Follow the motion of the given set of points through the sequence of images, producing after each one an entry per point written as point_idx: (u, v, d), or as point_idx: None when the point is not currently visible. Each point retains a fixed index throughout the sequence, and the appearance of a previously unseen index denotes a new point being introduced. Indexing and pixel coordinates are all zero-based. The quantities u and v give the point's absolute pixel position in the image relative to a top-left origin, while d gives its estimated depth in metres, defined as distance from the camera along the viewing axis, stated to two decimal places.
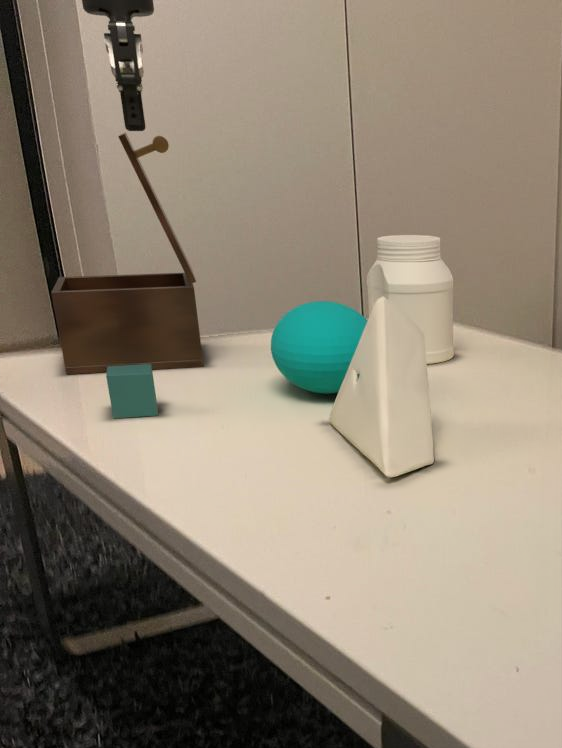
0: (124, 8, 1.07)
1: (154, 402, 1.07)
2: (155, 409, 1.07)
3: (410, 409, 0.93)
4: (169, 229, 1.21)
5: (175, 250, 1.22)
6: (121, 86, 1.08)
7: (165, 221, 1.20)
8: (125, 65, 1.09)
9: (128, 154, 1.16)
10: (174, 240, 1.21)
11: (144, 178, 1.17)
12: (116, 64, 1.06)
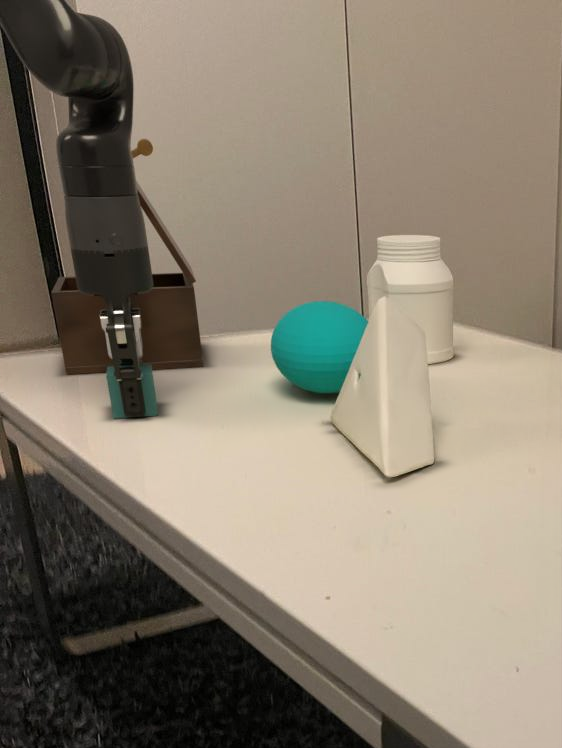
0: (121, 294, 1.00)
1: (154, 402, 1.07)
2: (155, 409, 1.07)
3: (411, 409, 0.93)
4: (163, 232, 1.21)
5: (171, 252, 1.22)
6: None
7: (158, 224, 1.20)
8: None
9: None
10: (169, 242, 1.21)
11: None
12: (115, 364, 1.01)
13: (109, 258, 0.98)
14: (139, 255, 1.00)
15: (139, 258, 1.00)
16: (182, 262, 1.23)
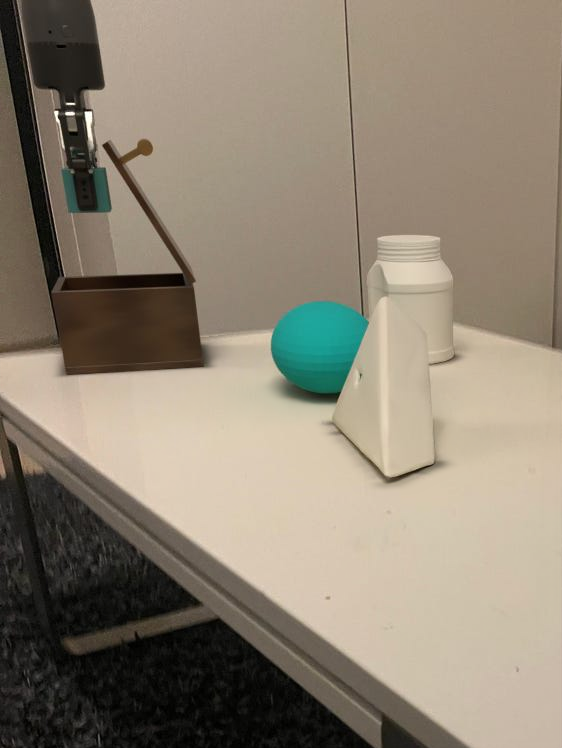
0: (73, 86, 1.08)
1: (106, 198, 1.15)
2: (107, 206, 1.16)
3: (411, 409, 0.93)
4: (163, 232, 1.21)
5: (171, 252, 1.22)
6: (73, 169, 1.12)
7: (158, 224, 1.20)
8: (76, 147, 1.12)
9: (114, 162, 1.16)
10: (169, 242, 1.21)
11: (132, 184, 1.17)
12: (67, 152, 1.09)
13: (61, 49, 1.06)
14: (90, 50, 1.08)
15: (89, 53, 1.08)
16: (182, 262, 1.23)
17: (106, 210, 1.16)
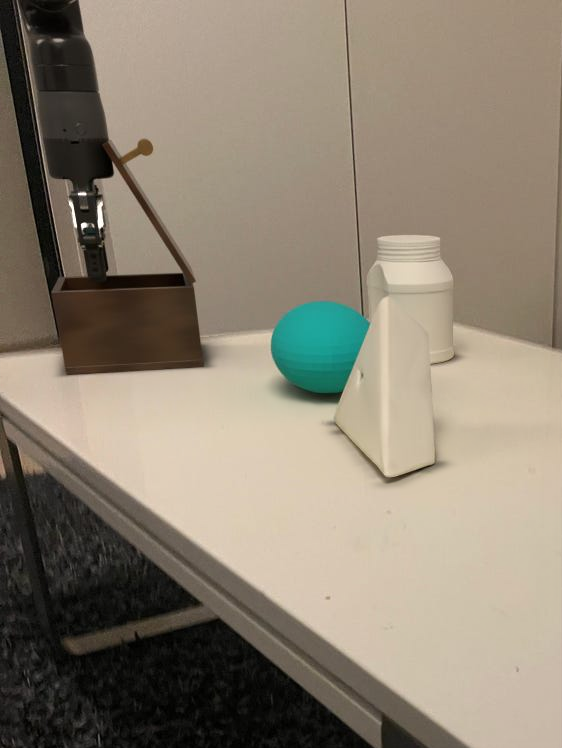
0: (86, 177, 1.18)
1: None
2: None
3: (412, 409, 0.93)
4: (163, 232, 1.21)
5: (171, 252, 1.22)
6: (84, 245, 1.20)
7: (158, 224, 1.20)
8: (87, 225, 1.20)
9: (114, 161, 1.16)
10: (169, 242, 1.21)
11: (132, 184, 1.17)
12: (78, 228, 1.18)
13: (75, 145, 1.17)
14: (100, 144, 1.18)
15: (100, 146, 1.18)
16: (182, 262, 1.23)
17: None
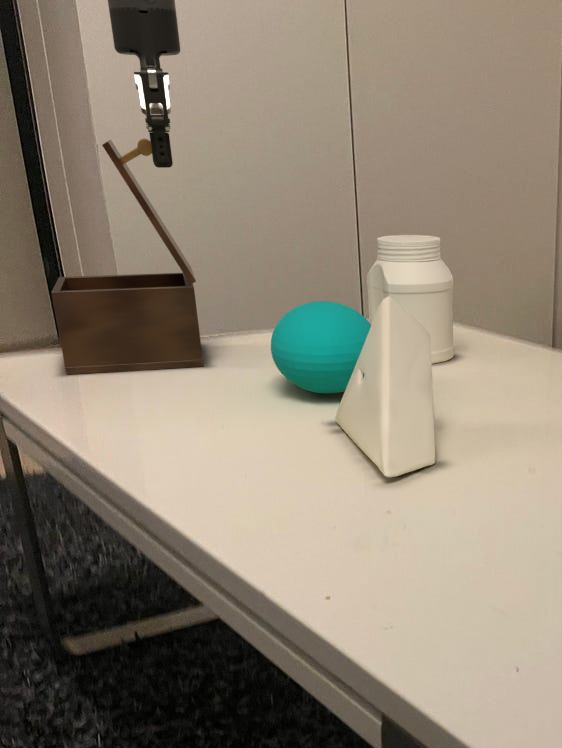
0: (153, 49, 1.15)
1: None
2: None
3: (413, 409, 0.93)
4: (163, 232, 1.21)
5: (171, 252, 1.22)
6: (151, 127, 1.17)
7: (158, 224, 1.20)
8: (154, 106, 1.17)
9: (114, 161, 1.16)
10: (169, 242, 1.21)
11: (132, 184, 1.17)
12: (147, 109, 1.15)
13: (143, 14, 1.13)
14: (169, 16, 1.15)
15: (169, 18, 1.15)
16: (182, 262, 1.23)
17: None
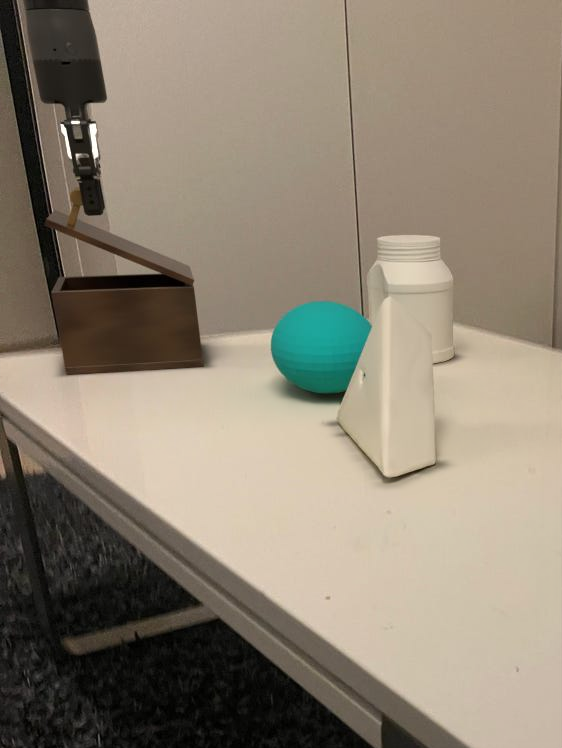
0: (78, 100, 1.15)
1: None
2: None
3: (413, 409, 0.93)
4: (140, 259, 1.21)
5: (159, 270, 1.22)
6: (79, 176, 1.18)
7: (132, 255, 1.21)
8: (82, 156, 1.17)
9: (63, 231, 1.17)
10: (151, 264, 1.22)
11: (89, 238, 1.18)
12: (73, 159, 1.15)
13: (66, 66, 1.13)
14: (92, 66, 1.15)
15: (92, 68, 1.15)
16: (172, 272, 1.23)
17: None
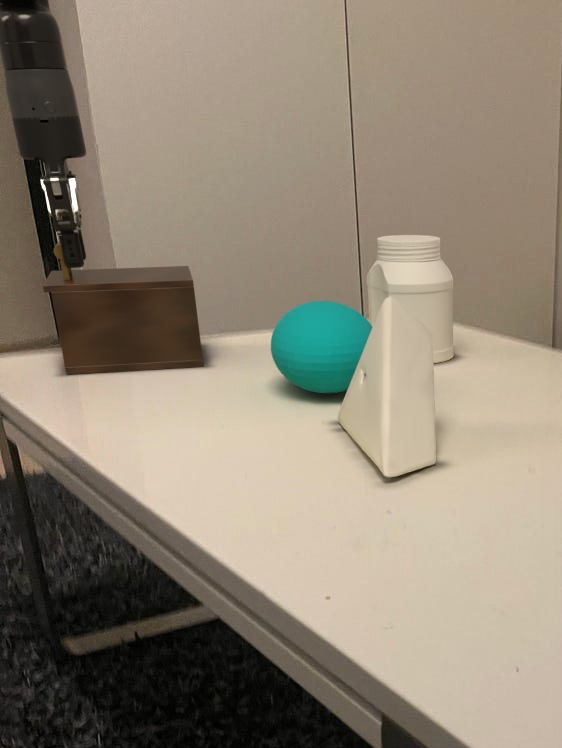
0: (57, 156, 1.17)
1: None
2: None
3: (413, 409, 0.93)
4: (138, 283, 1.22)
5: (158, 286, 1.23)
6: (59, 230, 1.19)
7: (129, 283, 1.22)
8: (62, 210, 1.19)
9: (61, 290, 1.20)
10: (149, 283, 1.23)
11: (86, 285, 1.21)
12: (53, 215, 1.17)
13: (44, 124, 1.15)
14: (71, 122, 1.17)
15: (71, 125, 1.17)
16: (171, 282, 1.23)
17: None
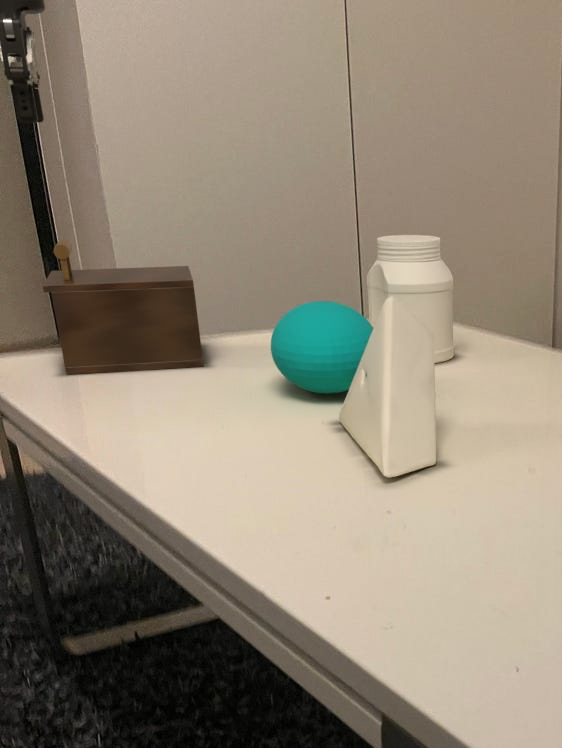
0: (12, 6, 1.12)
1: None
2: None
3: (414, 410, 0.93)
4: (138, 283, 1.22)
5: (158, 286, 1.23)
6: (11, 80, 1.14)
7: (129, 283, 1.22)
8: (15, 60, 1.14)
9: (61, 290, 1.20)
10: (149, 283, 1.23)
11: (86, 285, 1.21)
12: (4, 59, 1.12)
13: None
14: None
15: None
16: (171, 282, 1.23)
17: None
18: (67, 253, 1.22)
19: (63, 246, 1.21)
